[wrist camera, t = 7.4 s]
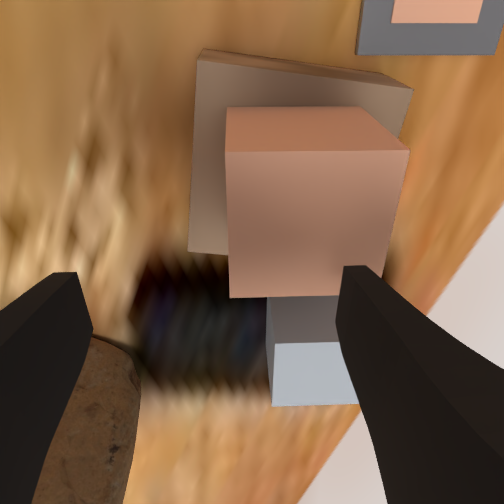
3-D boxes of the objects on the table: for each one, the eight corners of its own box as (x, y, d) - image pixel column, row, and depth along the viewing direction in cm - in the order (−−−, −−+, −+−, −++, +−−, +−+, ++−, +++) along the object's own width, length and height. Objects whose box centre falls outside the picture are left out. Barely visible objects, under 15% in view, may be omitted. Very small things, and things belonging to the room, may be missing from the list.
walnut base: (194, 211, 21) (187, 251, 18) (204, 47, 17) (197, 59, 14) (337, 225, 22) (356, 265, 19) (380, 72, 18) (413, 89, 15)
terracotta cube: (230, 224, 17) (229, 297, 13) (226, 107, 15) (225, 151, 10) (342, 222, 18) (377, 294, 13) (359, 106, 15) (410, 150, 11)
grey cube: (265, 342, 27) (271, 406, 22) (267, 282, 24) (275, 343, 20) (338, 340, 27) (358, 403, 23) (349, 281, 24) (373, 341, 20)
